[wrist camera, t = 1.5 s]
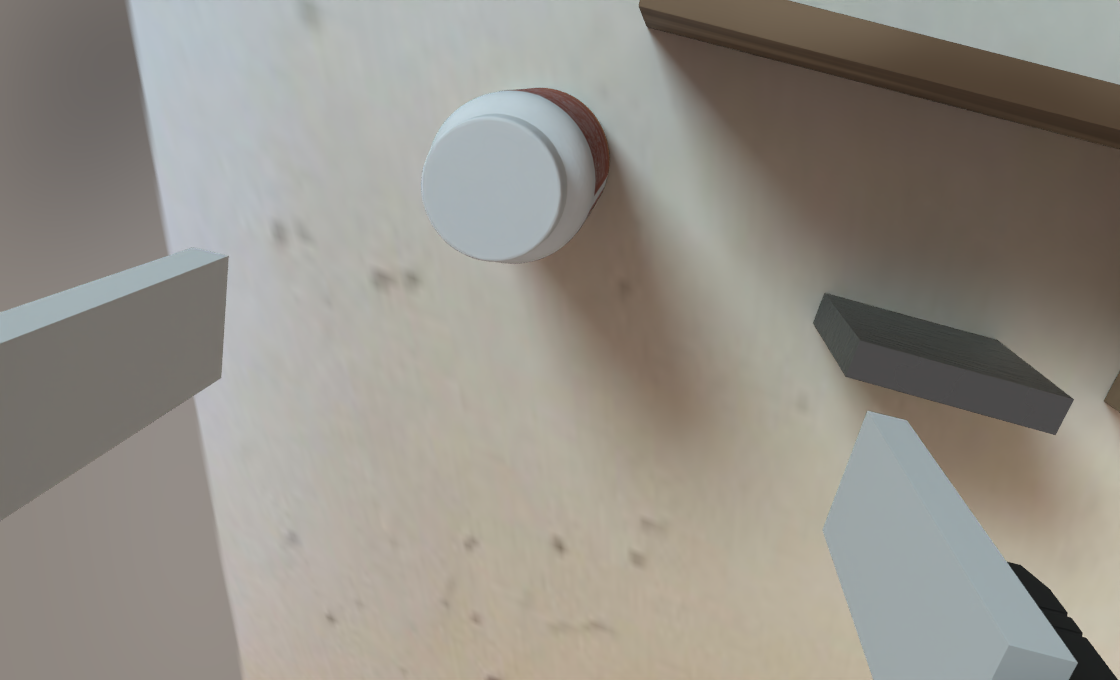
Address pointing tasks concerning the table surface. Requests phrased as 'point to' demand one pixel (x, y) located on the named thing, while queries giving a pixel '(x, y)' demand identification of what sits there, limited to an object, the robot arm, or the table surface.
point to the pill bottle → (515, 174)
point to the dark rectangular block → (938, 364)
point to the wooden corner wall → (903, 66)
